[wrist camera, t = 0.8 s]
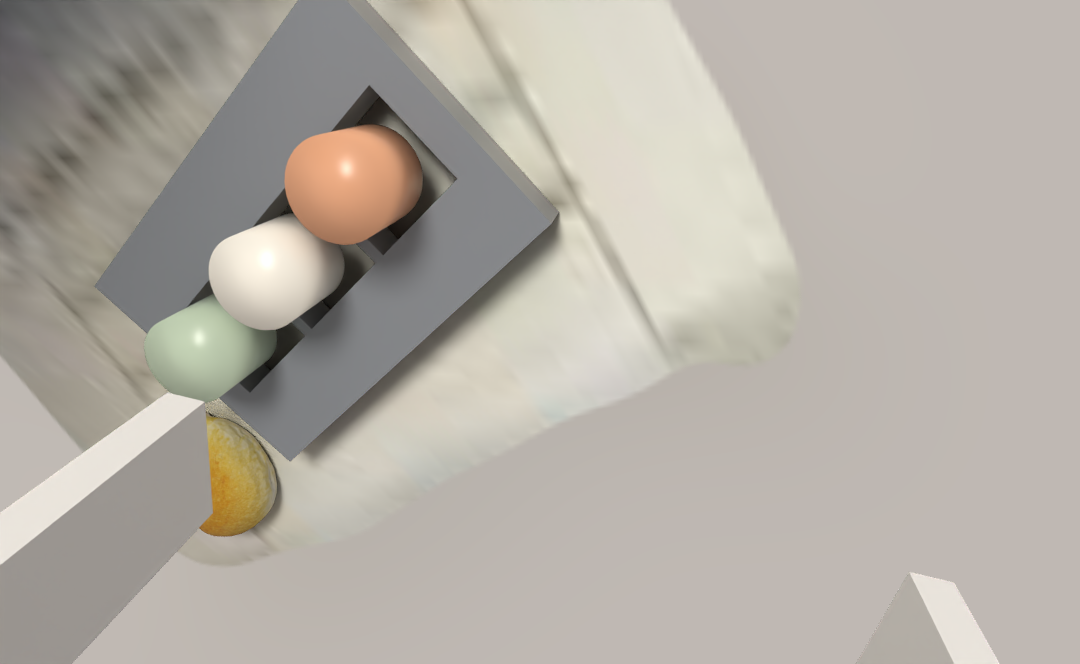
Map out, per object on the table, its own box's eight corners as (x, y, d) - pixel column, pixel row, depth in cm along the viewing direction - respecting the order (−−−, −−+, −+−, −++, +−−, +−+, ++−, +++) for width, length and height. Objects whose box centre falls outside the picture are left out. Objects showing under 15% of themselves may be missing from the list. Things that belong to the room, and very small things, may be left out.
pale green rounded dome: (185, 324, 34) (128, 356, 30) (227, 273, 32) (173, 300, 29) (247, 381, 35) (199, 418, 31) (292, 334, 33) (247, 368, 29)
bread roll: (272, 532, 43) (236, 576, 39) (150, 480, 43) (103, 519, 39) (295, 439, 39) (258, 478, 36) (162, 382, 39) (112, 416, 36)
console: (128, 272, 36) (94, 286, 34) (345, -23, 28) (319, -30, 26) (310, 439, 39) (290, 461, 36) (559, 211, 31) (551, 223, 28)
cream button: (244, 253, 32) (190, 278, 28) (293, 194, 30) (243, 212, 26) (310, 316, 32) (265, 348, 29) (361, 262, 31) (322, 289, 27)
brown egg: (312, 171, 29) (264, 187, 26) (370, 102, 28) (327, 108, 24) (381, 241, 30) (344, 265, 26) (442, 178, 28) (410, 195, 25)
